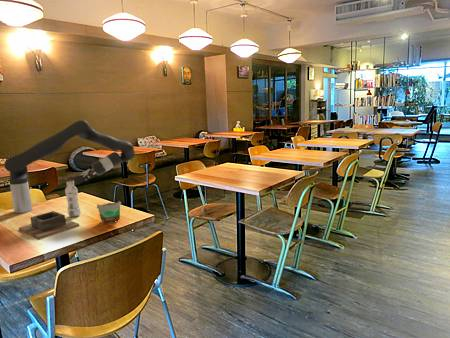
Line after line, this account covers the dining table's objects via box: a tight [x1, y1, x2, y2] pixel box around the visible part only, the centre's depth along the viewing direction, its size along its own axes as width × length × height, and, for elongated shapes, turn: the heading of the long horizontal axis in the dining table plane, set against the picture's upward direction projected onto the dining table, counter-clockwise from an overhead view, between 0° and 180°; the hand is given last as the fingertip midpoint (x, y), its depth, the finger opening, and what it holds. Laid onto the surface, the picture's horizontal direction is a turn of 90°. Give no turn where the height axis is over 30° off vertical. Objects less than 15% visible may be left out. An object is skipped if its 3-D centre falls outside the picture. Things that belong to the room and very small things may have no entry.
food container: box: [96, 200, 122, 224], centre depth 180 cm, size 12×6×10 cm, turn 117°
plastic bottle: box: [64, 180, 81, 218], centre depth 190 cm, size 6×7×20 cm
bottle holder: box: [18, 210, 80, 240], centre depth 174 cm, size 22×20×6 cm
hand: (75, 181), depth 184 cm, fingers open, 8 cm apart
